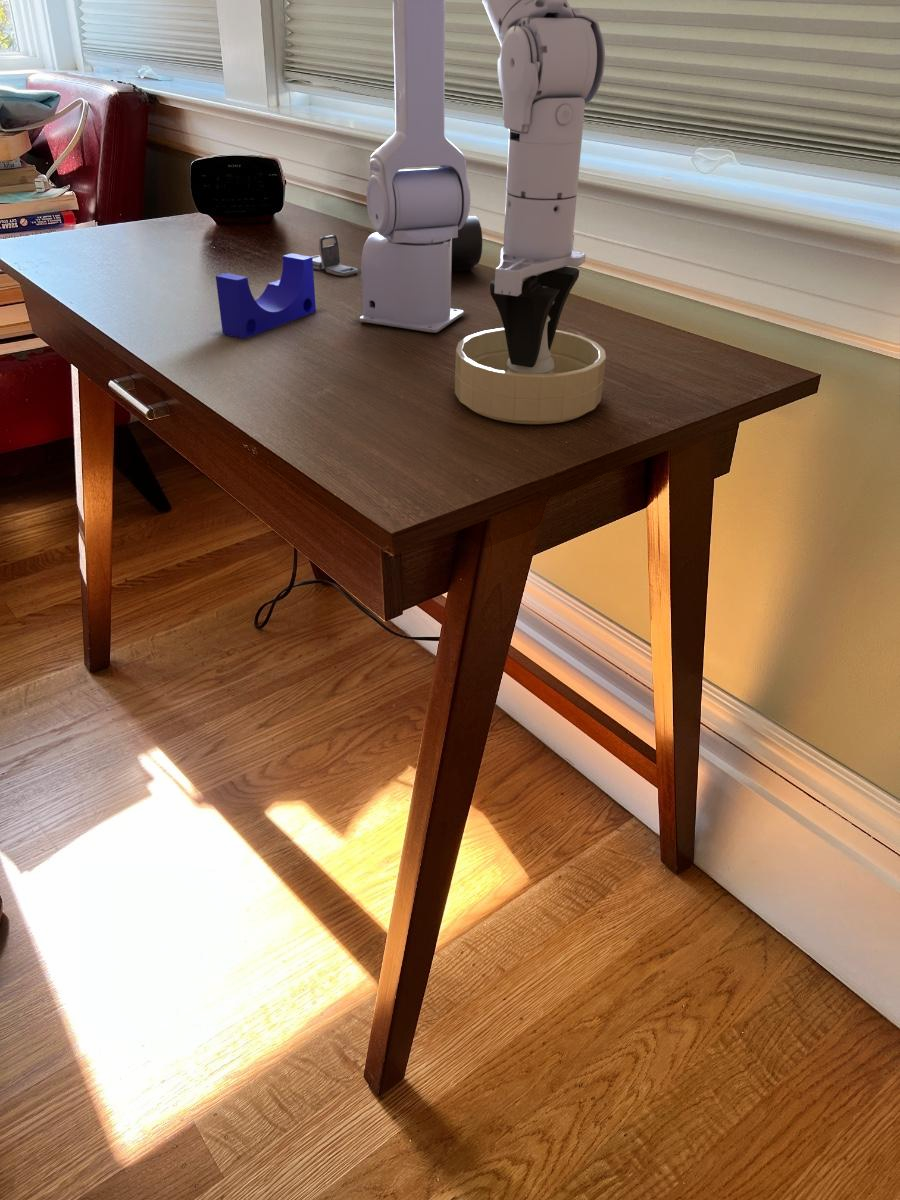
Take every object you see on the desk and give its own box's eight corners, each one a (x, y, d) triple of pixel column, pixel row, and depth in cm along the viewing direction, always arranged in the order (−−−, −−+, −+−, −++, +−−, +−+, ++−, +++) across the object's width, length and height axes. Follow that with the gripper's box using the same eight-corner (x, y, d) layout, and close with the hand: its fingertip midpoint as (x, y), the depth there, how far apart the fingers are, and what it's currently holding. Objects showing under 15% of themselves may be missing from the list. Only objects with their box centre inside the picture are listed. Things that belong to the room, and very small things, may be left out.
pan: (431, 411, 80) (432, 361, 77) (486, 365, 90) (488, 319, 87) (575, 437, 76) (580, 386, 73) (616, 386, 86) (622, 339, 83)
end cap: (407, 279, 116) (407, 223, 112) (395, 265, 122) (394, 212, 118) (482, 275, 119) (484, 220, 115) (466, 262, 124) (467, 209, 120)
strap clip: (300, 265, 121) (297, 231, 119) (317, 261, 123) (315, 228, 121) (343, 277, 117) (341, 242, 114) (360, 273, 118) (359, 238, 116)
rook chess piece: (551, 390, 80) (559, 298, 75) (501, 386, 80) (506, 294, 76) (557, 373, 83) (564, 284, 79) (509, 369, 84) (514, 280, 79)
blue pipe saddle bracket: (285, 305, 106) (281, 251, 102) (315, 311, 104) (312, 257, 101) (212, 331, 97) (204, 273, 94) (243, 338, 95) (237, 280, 92)
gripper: (561, 214, 66) (547, 392, 74) (613, 184, 77) (595, 341, 85) (472, 205, 69) (467, 378, 76) (534, 177, 80) (525, 330, 87)
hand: (530, 358), depth 81 cm, fingers closed on rook chess piece, 3 cm apart
